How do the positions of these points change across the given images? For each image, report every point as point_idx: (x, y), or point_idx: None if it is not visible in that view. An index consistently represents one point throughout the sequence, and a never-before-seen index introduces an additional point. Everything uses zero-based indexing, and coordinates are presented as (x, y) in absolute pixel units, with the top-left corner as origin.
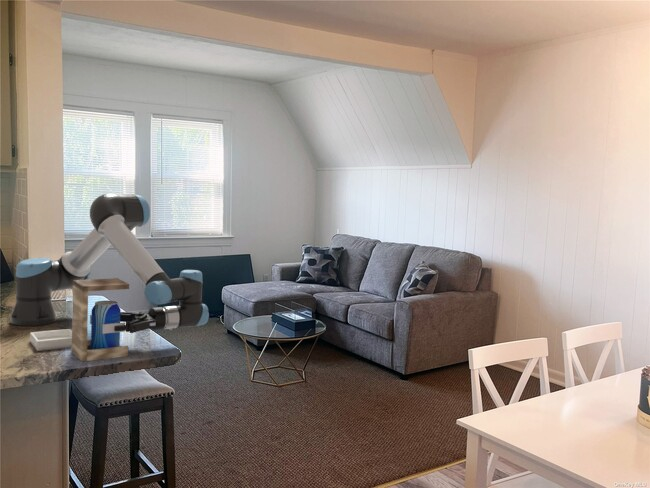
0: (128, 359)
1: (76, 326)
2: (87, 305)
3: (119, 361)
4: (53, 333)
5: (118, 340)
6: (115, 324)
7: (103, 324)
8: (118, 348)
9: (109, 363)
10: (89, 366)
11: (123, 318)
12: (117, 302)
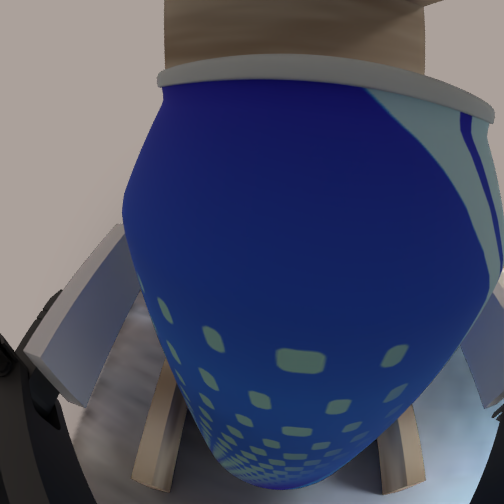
0: (99, 456)
1: None
2: (166, 67)
3: (101, 413)
4: (499, 279)
5: (217, 454)
6: (71, 288)
7: (123, 227)
8: (146, 427)
9: (108, 373)
10: (131, 314)
11: (490, 500)
12: (301, 57)
